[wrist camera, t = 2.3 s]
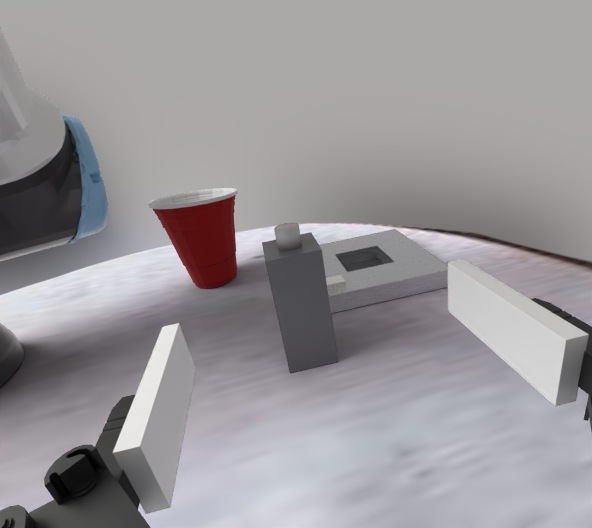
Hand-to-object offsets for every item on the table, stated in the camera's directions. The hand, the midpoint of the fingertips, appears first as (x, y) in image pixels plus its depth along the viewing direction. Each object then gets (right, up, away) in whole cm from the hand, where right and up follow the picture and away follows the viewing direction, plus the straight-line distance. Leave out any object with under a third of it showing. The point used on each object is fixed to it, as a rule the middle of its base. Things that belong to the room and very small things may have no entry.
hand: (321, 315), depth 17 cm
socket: (+7, +1, +25) cm, 26 cm away
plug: (0, -5, +13) cm, 14 cm away
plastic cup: (-12, 0, +31) cm, 33 cm away
